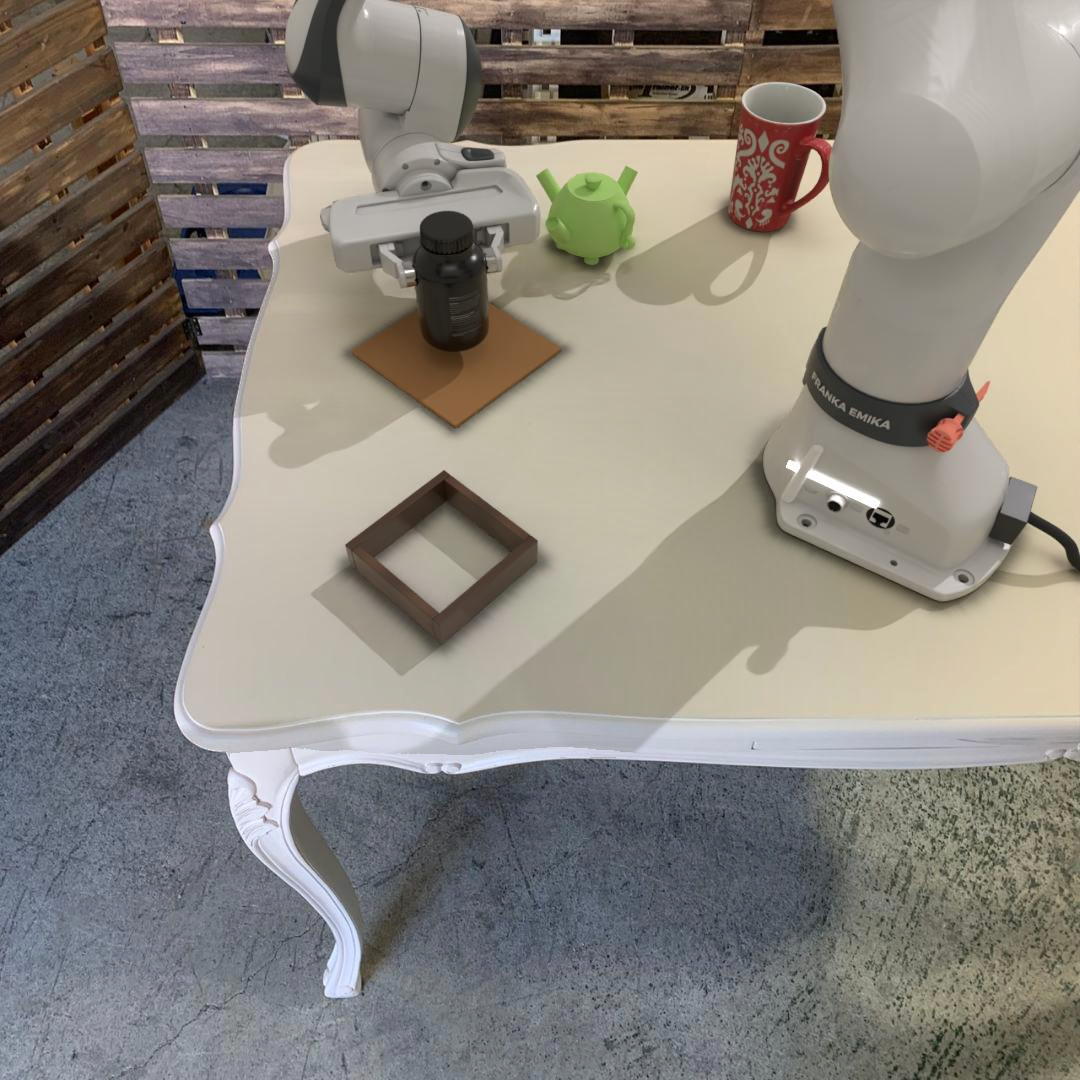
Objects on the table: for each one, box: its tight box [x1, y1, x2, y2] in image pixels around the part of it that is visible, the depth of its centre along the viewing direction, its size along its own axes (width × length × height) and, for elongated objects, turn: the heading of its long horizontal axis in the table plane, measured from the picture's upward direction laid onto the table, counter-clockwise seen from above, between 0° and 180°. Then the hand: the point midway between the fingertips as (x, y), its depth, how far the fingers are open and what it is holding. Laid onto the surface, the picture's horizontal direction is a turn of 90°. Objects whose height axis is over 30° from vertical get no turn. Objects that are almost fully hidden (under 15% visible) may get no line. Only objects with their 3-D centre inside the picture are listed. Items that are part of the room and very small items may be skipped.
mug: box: [727, 81, 832, 232], centre depth 100 cm, size 13×9×14 cm
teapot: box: [535, 165, 639, 266], centre depth 99 cm, size 11×12×8 cm
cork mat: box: [351, 301, 562, 429], centre depth 91 cm, size 15×15×1 cm
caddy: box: [344, 469, 539, 645], centre depth 74 cm, size 11×11×3 cm
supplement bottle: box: [412, 211, 489, 352], centre depth 84 cm, size 7×7×12 cm
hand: (452, 274), depth 82 cm, fingers closed on supplement bottle, 7 cm apart
